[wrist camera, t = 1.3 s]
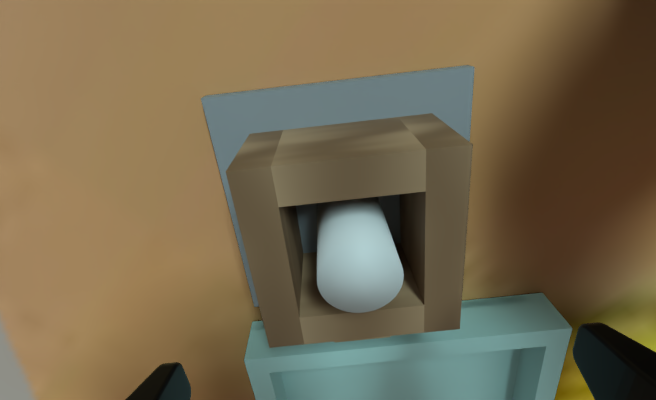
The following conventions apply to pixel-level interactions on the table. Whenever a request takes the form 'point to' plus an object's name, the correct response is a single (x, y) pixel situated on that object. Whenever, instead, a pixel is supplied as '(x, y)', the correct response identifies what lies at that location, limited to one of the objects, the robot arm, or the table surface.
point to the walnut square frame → (345, 184)
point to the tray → (425, 359)
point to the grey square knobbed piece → (346, 215)
